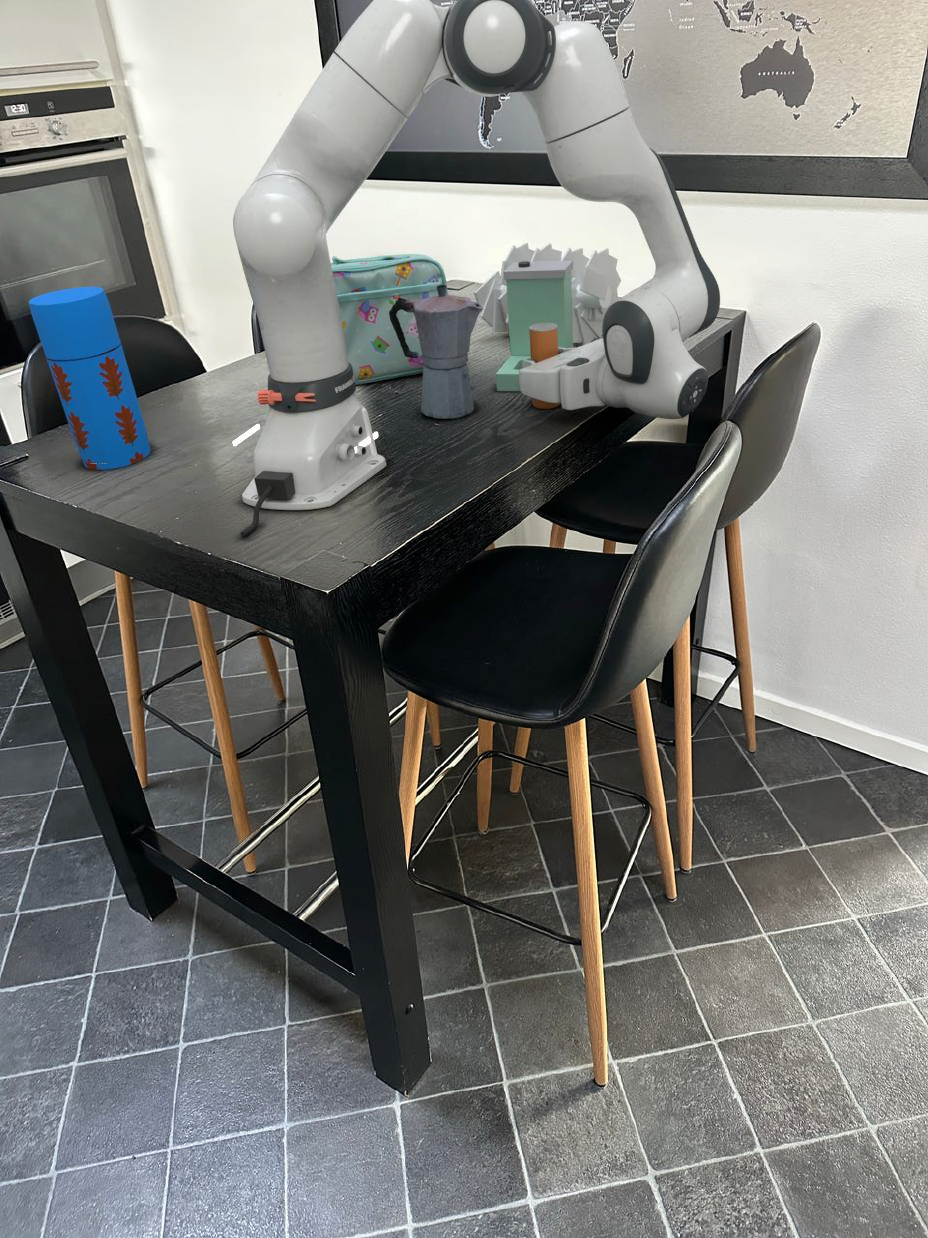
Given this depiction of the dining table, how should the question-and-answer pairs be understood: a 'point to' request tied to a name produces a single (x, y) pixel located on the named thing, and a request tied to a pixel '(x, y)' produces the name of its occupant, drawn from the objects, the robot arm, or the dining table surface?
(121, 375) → the thermos
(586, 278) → the spiral staircase
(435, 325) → the moka pot
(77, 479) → the dining table surface
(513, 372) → the square frame
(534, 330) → the orange silver-capped cylinder
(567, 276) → the pet feeder tower
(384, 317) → the lunch box
